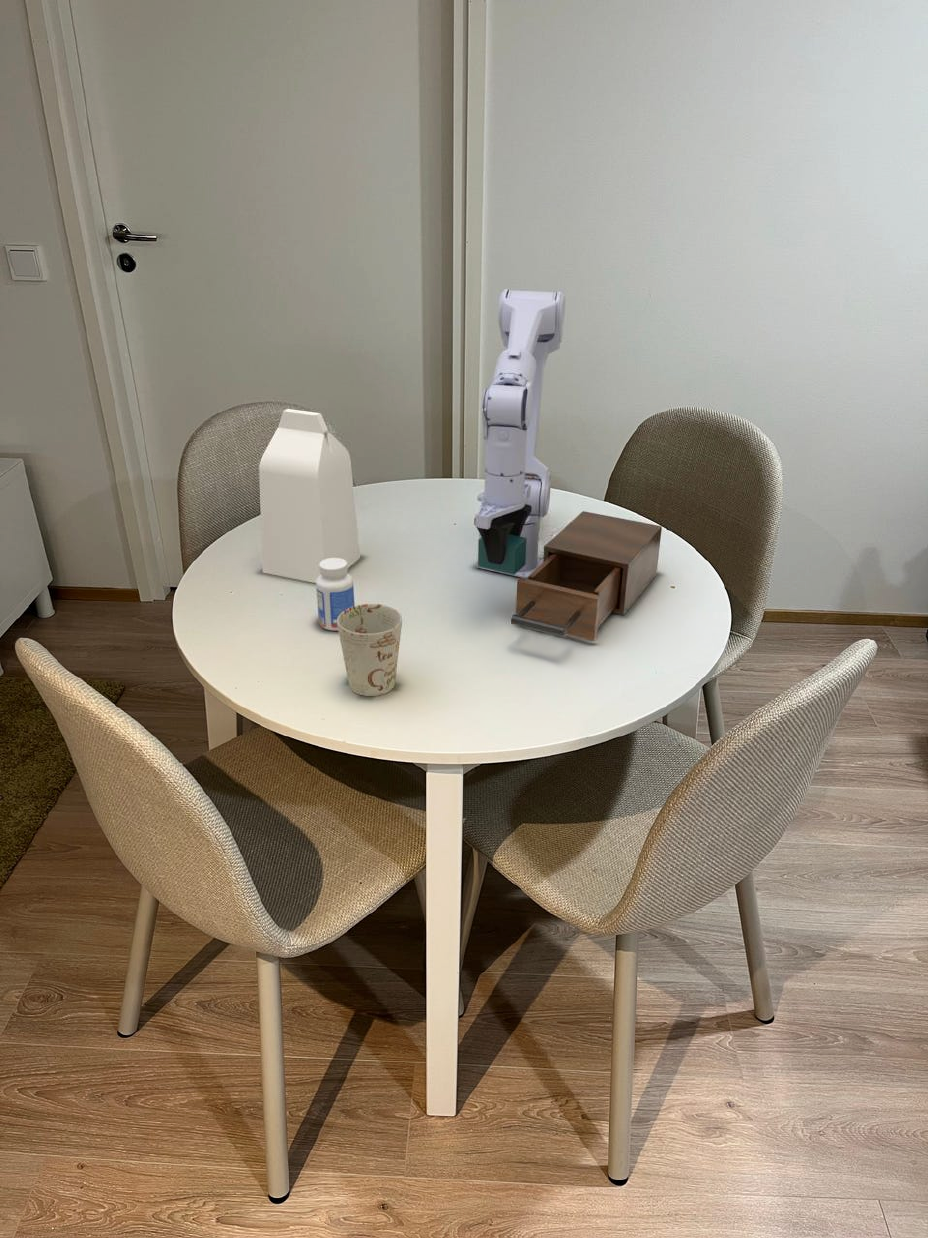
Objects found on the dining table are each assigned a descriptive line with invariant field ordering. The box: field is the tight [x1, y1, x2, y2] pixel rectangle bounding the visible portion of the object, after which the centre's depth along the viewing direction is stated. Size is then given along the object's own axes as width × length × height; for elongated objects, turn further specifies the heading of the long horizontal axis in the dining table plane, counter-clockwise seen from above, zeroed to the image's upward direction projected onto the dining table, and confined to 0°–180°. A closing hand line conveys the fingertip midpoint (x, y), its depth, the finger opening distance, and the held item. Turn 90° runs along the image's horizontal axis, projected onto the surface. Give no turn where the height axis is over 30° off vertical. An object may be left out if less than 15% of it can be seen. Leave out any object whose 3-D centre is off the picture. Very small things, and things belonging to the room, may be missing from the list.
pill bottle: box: [315, 558, 356, 632], centre depth 143 cm, size 6×5×10 cm
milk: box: [258, 408, 361, 584], centre depth 157 cm, size 12×12×26 cm
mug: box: [337, 603, 403, 697], centre depth 130 cm, size 8×13×10 cm, turn 27°
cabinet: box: [542, 510, 663, 616], centre depth 156 cm, size 17×14×9 cm
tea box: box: [477, 534, 527, 575], centre depth 145 cm, size 6×4×4 cm, turn 63°
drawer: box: [510, 553, 623, 642], centre depth 144 cm, size 22×12×7 cm, turn 153°
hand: (502, 556), depth 146 cm, fingers closed on tea box, 4 cm apart
